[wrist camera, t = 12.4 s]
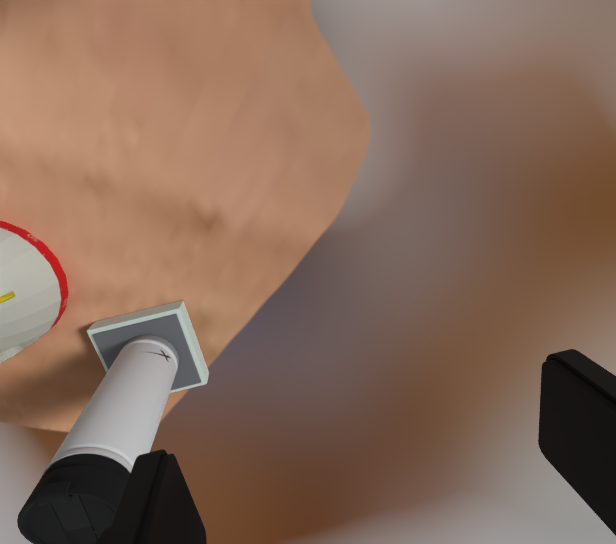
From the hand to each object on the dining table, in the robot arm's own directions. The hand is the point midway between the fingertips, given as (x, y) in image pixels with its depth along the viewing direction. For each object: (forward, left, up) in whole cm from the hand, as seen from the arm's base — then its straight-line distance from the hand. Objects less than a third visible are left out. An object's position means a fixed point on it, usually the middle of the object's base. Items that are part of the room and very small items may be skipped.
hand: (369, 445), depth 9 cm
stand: (+13, -18, -34) cm, 41 cm away
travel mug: (+12, -18, -32) cm, 39 cm away
